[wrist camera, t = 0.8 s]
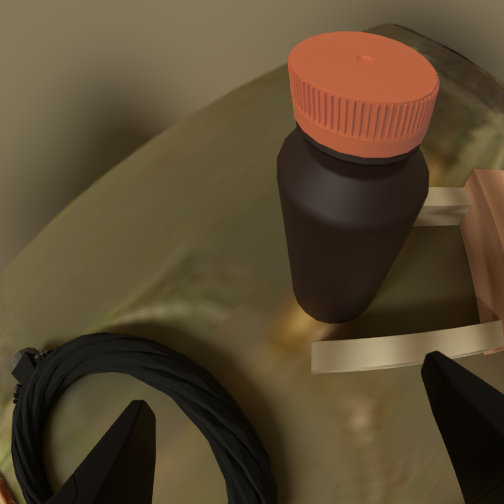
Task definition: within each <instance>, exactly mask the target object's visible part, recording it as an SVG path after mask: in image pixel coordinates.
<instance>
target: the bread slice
mask: <svg viewBox="0 0 504 504" xmlns="http://www.w3.org/2000/svg"><path fill="white" fill-rule="evenodd" d="M0 504H16V502H15V500H14V498H13V496H12V495H11V493H10V491H9V489H8V487H7V486H6V484H5V482H4V481H3V479H2V478H1V476H0Z"/></svg>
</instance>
